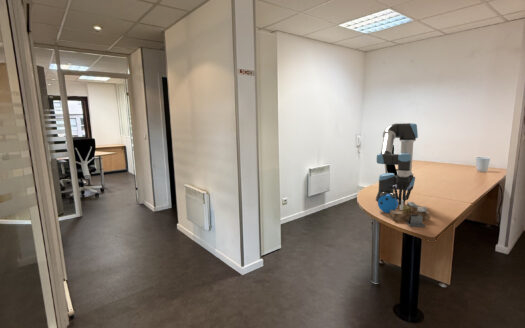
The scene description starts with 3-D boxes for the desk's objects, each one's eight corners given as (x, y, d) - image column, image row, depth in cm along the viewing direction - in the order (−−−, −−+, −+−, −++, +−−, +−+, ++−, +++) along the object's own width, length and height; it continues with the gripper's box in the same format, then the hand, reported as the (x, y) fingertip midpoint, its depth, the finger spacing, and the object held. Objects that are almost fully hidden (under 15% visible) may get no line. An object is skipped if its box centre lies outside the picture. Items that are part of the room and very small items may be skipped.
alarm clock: (398, 212, 207) (399, 193, 205) (395, 214, 203) (396, 194, 200) (379, 209, 216) (380, 190, 213) (377, 211, 211) (378, 192, 209)
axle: (410, 213, 191) (411, 207, 190) (408, 211, 195) (409, 205, 194) (426, 213, 189) (427, 208, 188) (424, 211, 193) (424, 206, 192)
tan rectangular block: (403, 212, 192) (403, 207, 191) (401, 211, 195) (401, 205, 195) (410, 213, 191) (411, 207, 190) (409, 211, 194) (409, 205, 194)
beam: (393, 220, 192) (394, 205, 190) (389, 216, 199) (390, 201, 198) (431, 221, 188) (432, 206, 186) (426, 217, 196) (427, 202, 194)
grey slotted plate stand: (405, 222, 189) (406, 213, 188) (420, 222, 187) (420, 213, 186) (410, 226, 181) (410, 217, 180) (425, 227, 179) (425, 218, 178)
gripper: (394, 177, 187) (392, 210, 191) (415, 177, 185) (413, 211, 189) (391, 174, 194) (389, 207, 198) (411, 175, 192) (409, 207, 196)
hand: (401, 209), depth 193 cm, fingers closed
